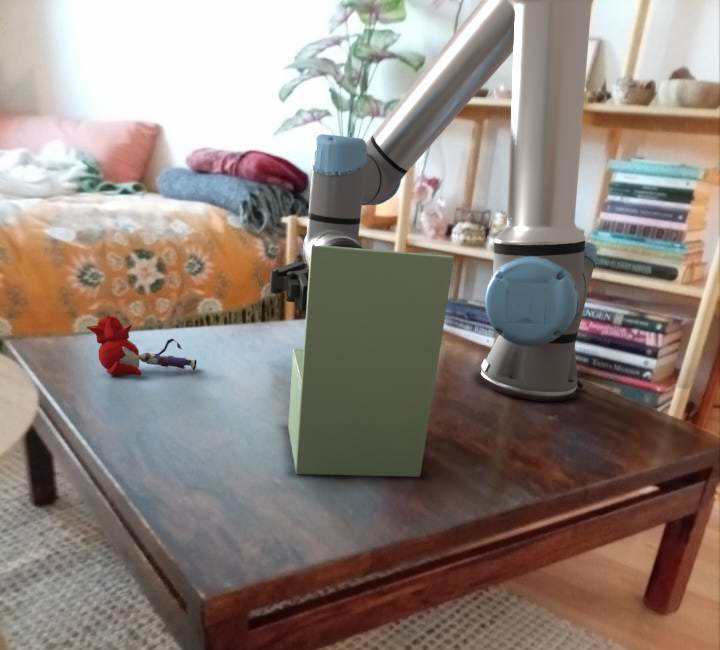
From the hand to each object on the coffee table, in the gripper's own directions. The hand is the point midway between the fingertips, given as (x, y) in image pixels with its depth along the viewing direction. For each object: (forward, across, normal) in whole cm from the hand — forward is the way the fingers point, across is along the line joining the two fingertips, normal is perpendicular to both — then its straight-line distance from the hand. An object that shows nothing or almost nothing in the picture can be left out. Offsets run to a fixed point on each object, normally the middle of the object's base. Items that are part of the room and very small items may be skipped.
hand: (368, 303), depth 76 cm
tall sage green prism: (0, 0, -18) cm, 18 cm away
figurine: (-29, +27, -15) cm, 42 cm away
